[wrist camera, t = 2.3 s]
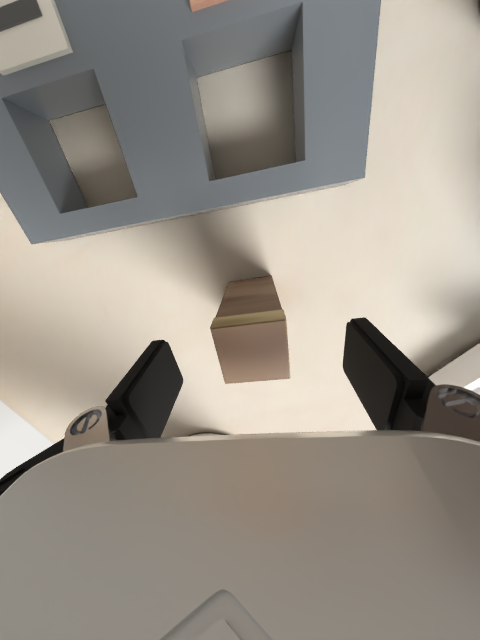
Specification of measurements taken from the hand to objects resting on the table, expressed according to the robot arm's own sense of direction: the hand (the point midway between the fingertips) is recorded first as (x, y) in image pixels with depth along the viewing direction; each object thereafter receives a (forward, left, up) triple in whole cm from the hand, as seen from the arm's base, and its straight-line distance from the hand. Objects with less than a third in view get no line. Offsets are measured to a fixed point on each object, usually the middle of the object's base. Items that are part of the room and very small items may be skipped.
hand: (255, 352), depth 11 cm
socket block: (+13, +4, -10) cm, 17 cm away
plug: (-1, 0, -10) cm, 10 cm away
